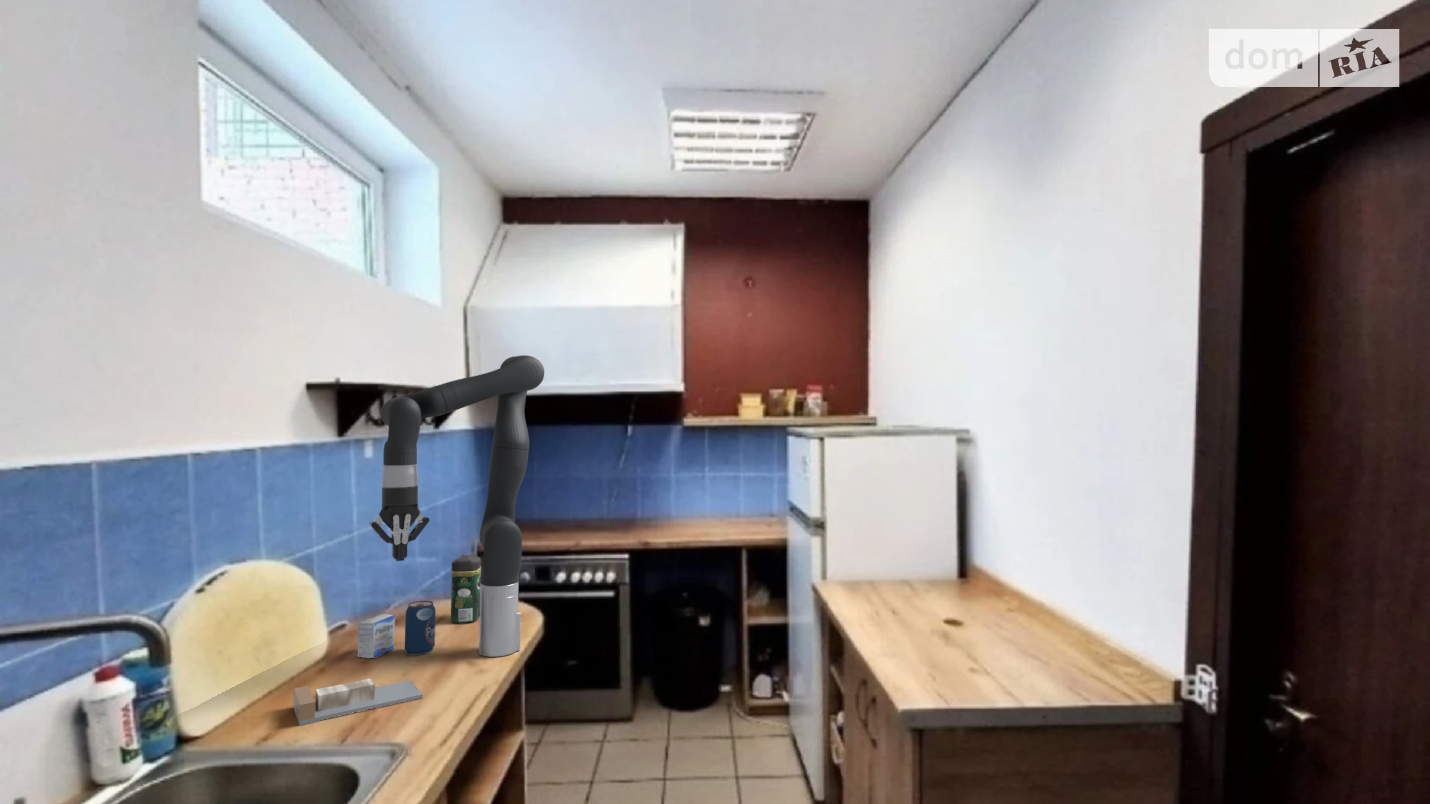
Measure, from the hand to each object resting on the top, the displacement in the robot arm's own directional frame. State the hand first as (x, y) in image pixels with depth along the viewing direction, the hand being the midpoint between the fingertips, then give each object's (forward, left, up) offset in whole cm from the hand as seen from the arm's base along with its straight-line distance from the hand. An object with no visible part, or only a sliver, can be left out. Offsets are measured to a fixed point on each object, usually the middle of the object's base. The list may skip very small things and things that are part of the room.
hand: (399, 560), depth 155 cm
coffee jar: (-26, -36, -26) cm, 51 cm away
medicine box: (+1, -19, -26) cm, 32 cm away
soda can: (-8, -14, -26) cm, 31 cm away
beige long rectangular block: (+7, +12, -24) cm, 28 cm away
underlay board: (+10, +12, -26) cm, 30 cm away
